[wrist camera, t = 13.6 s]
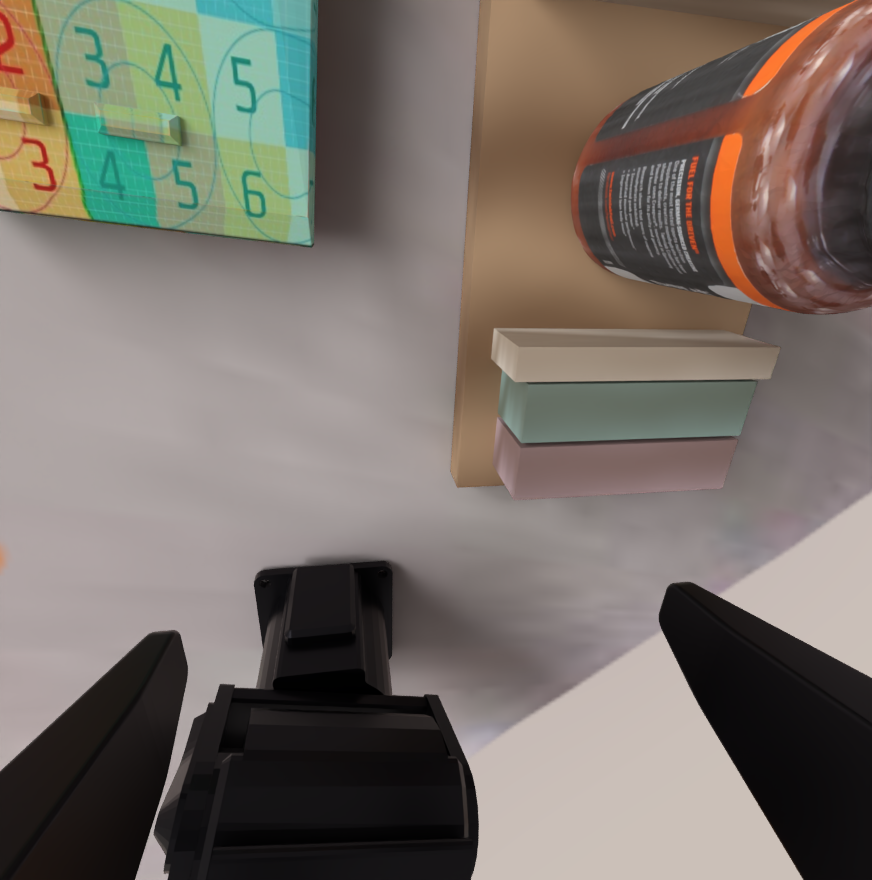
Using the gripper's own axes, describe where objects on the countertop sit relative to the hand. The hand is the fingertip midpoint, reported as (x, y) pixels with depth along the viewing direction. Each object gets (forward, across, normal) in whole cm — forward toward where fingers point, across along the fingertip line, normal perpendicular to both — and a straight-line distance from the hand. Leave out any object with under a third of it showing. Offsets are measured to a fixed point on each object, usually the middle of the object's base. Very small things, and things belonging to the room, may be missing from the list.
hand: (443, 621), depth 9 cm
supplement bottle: (+12, -9, -8) cm, 17 cm away
